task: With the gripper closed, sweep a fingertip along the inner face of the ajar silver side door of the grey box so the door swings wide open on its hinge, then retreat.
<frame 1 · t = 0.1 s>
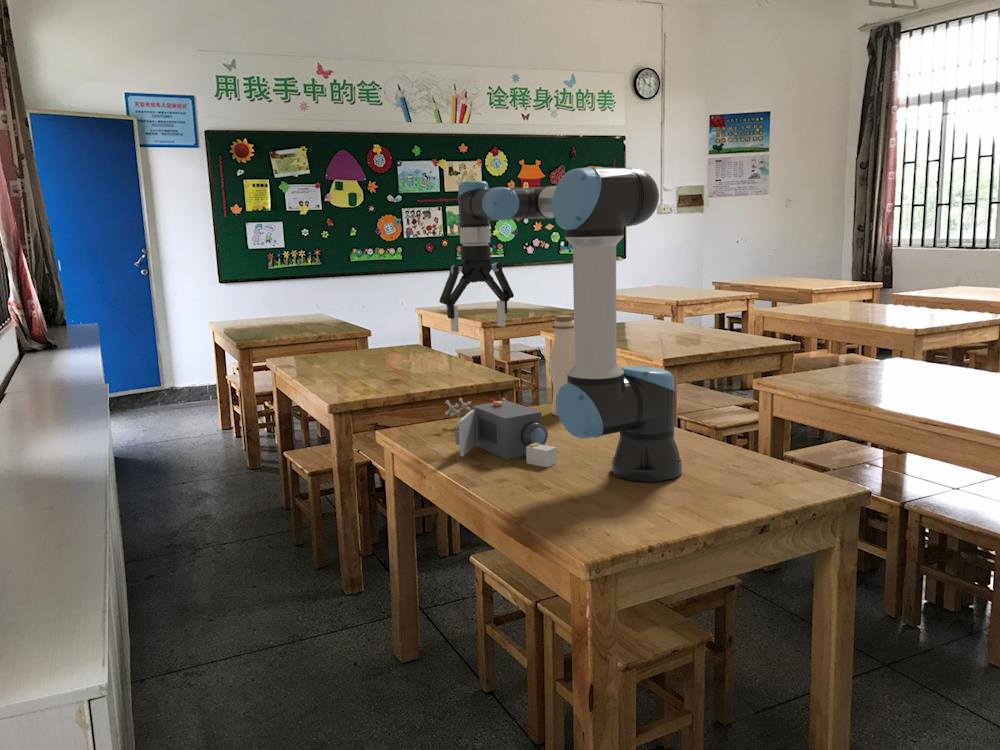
hand: (478, 328, 208), 28 cm above the table, fingers open, 13 cm apart
water bottle: (566, 413, 234), on the table
grey box: (507, 448, 200), on the table
molecular model: (475, 432, 217), on the table
side door: (466, 432, 196), point 5 cm above the table, hinge at 45.0°
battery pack: (541, 463, 187), on the table
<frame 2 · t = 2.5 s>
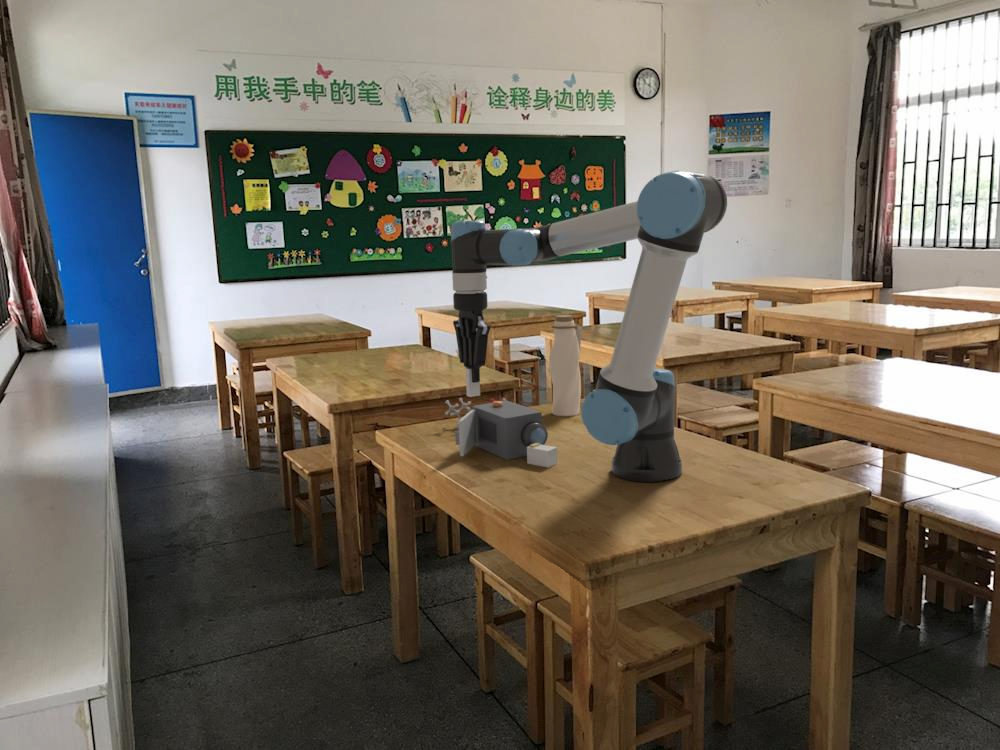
hand: (473, 395, 185), 16 cm above the table, fingers closed
nothing on the table moved.
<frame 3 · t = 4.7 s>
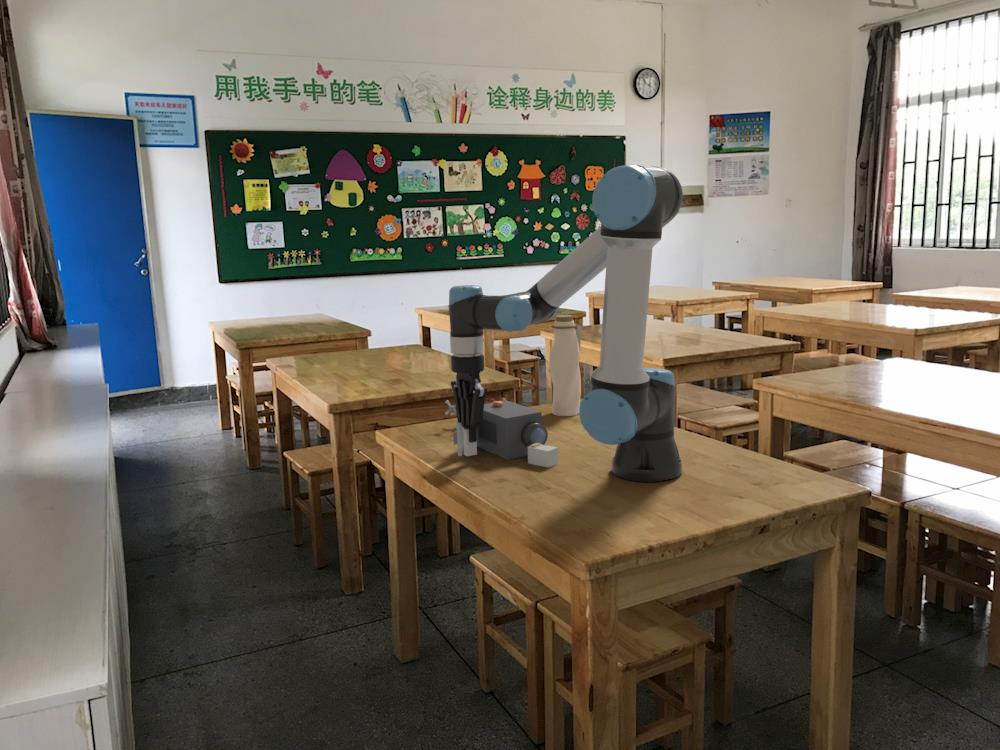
hand: (470, 454, 189), 2 cm above the table, fingers closed
side door: (465, 432, 196), point 5 cm above the table, hinge at 47.6°, touching gripper, hand
everything else where it was.
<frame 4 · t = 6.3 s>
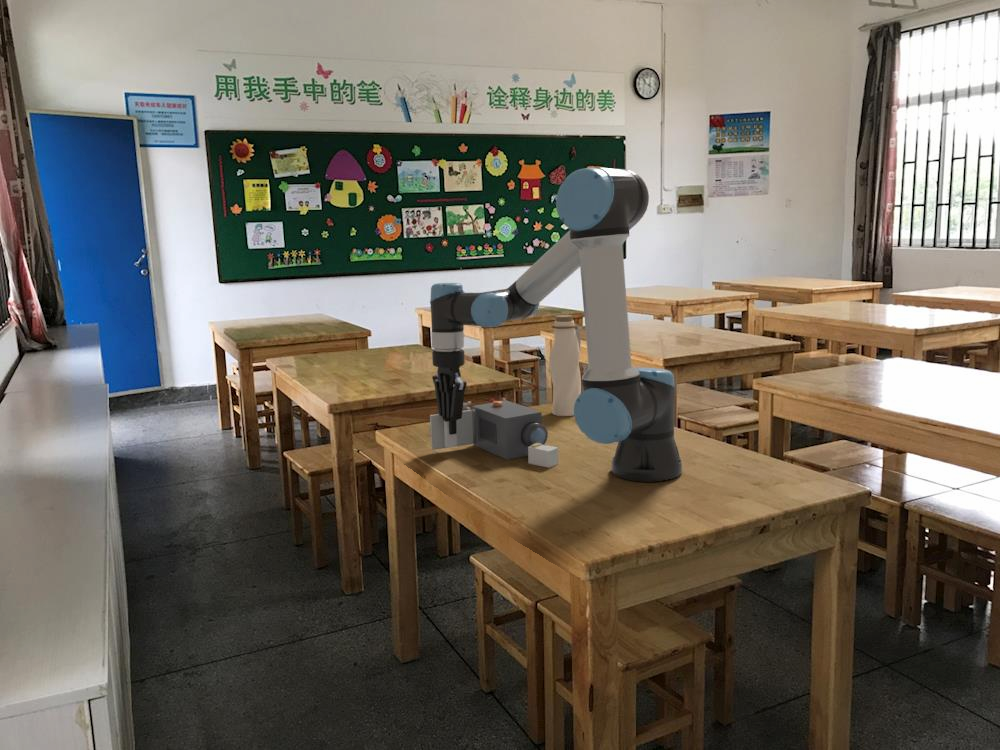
hand: (450, 446, 195), 2 cm above the table, fingers closed
side door: (453, 429, 199), point 5 cm above the table, hinge at 98.0°, touching gripper, hand
everything else where it was.
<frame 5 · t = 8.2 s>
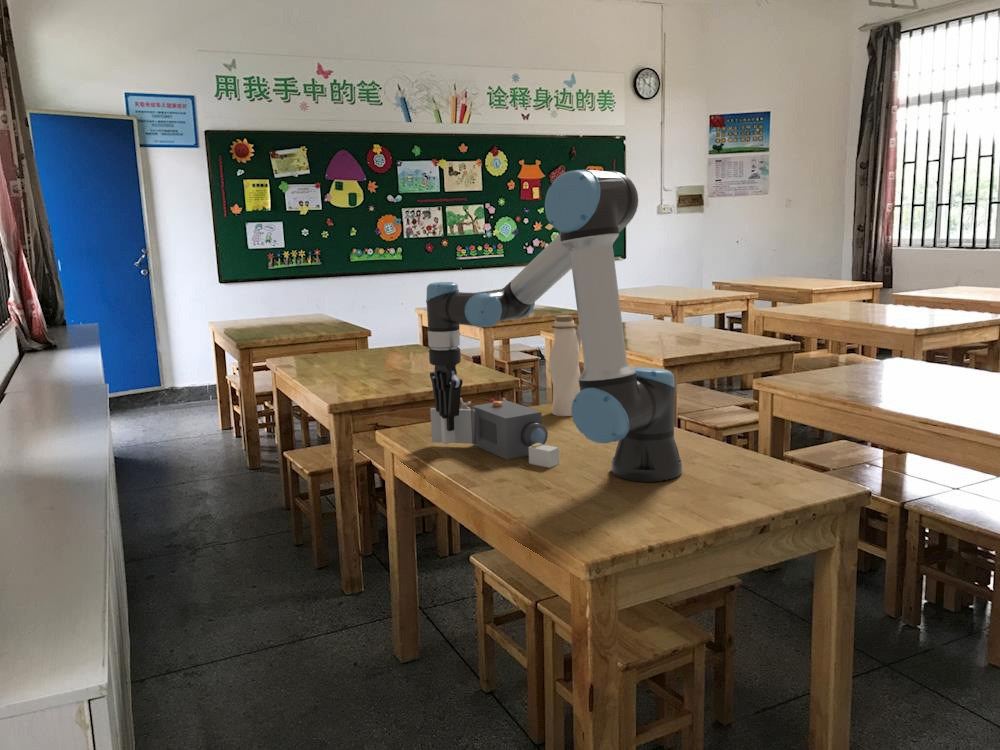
hand: (448, 442, 199), 2 cm above the table, fingers closed
side door: (454, 425, 203), point 5 cm above the table, hinge at 136.4°
everything else where it was.
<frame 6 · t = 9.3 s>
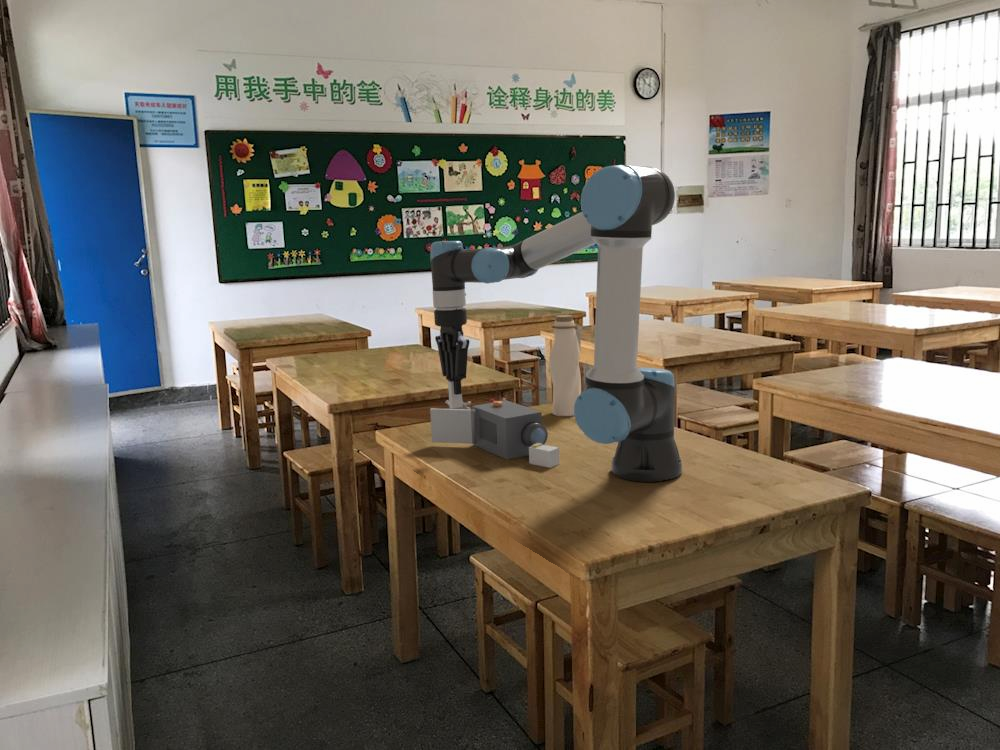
hand: (456, 407, 194), 12 cm above the table, fingers closed
side door: (454, 425, 203), point 5 cm above the table, hinge at 135.9°
everything else where it was.
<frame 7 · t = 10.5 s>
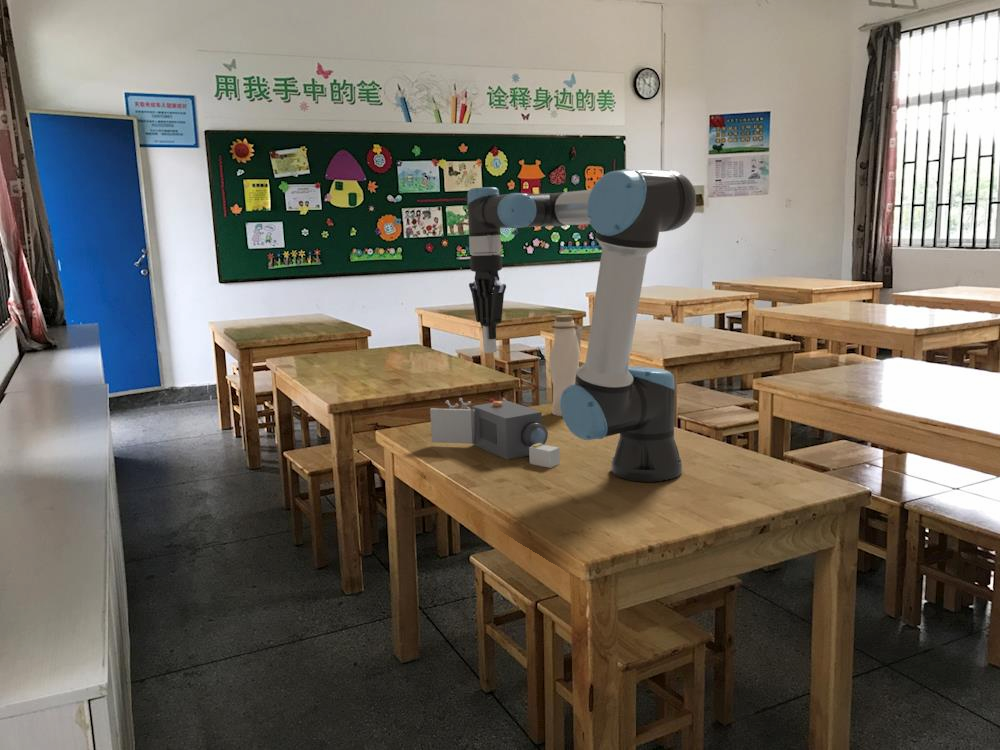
hand: (490, 352, 198), 24 cm above the table, fingers closed
nothing on the table moved.
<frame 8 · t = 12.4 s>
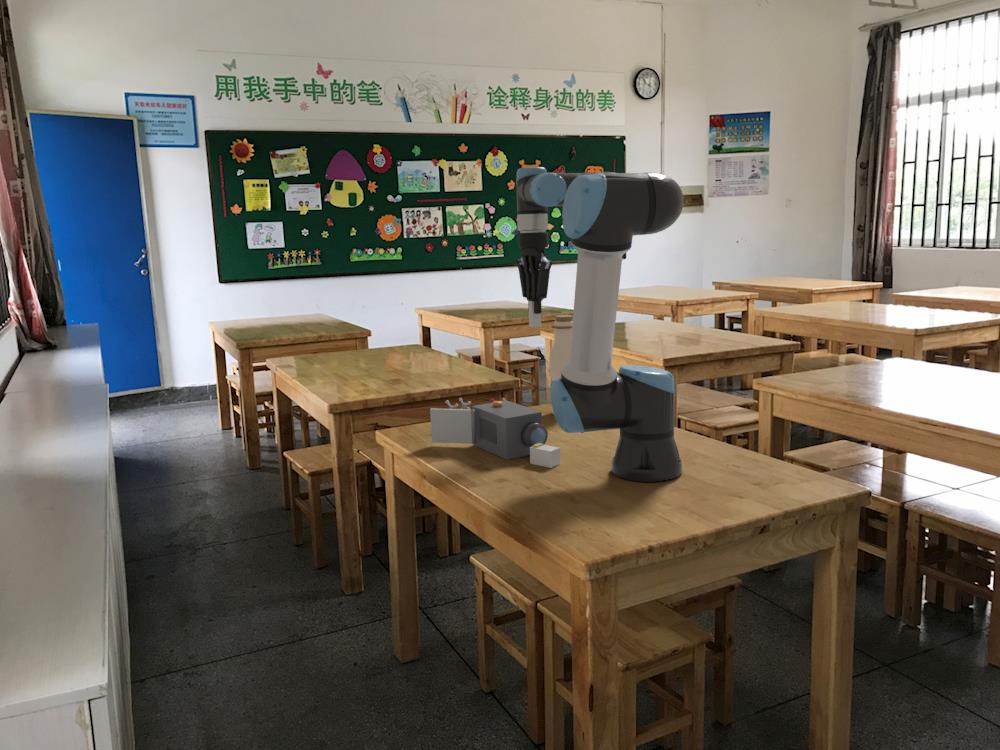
hand: (535, 326, 206), 28 cm above the table, fingers closed
nothing on the table moved.
at the end: side door at +136° (first picture: +45°) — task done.
